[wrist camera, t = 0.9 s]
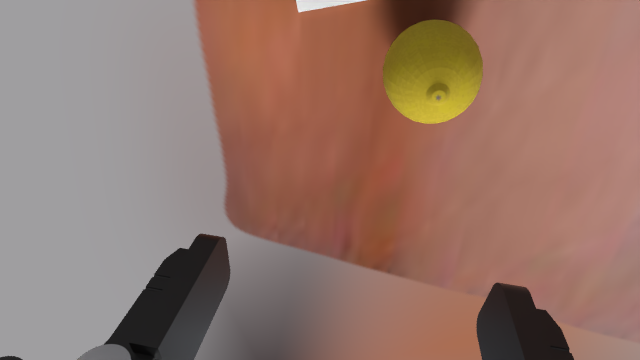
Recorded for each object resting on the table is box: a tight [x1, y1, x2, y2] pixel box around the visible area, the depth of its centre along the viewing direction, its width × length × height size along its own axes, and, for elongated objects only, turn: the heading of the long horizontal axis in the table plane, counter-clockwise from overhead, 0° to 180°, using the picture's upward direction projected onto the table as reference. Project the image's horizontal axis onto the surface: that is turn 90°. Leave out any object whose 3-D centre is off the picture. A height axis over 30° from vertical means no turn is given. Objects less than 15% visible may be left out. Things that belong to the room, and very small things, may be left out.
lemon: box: [383, 19, 483, 123], centre depth 21 cm, size 6×6×8 cm
